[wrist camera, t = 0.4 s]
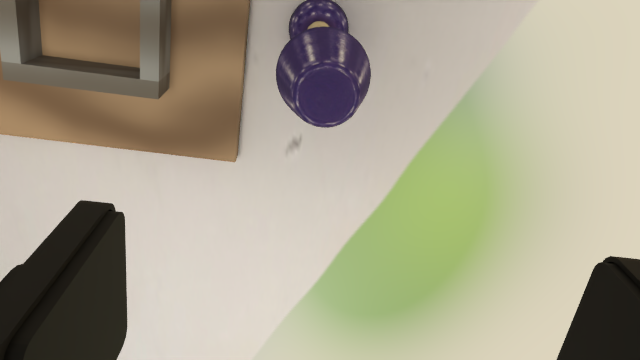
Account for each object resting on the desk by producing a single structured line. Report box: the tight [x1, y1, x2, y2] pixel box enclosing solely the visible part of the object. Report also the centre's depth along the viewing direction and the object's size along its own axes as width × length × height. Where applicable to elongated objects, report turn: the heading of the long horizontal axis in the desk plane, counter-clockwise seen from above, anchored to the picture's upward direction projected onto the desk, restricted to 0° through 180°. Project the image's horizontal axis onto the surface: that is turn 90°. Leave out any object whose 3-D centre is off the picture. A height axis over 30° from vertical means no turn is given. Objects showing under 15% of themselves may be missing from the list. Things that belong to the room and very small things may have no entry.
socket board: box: [0, 0, 250, 162], centre depth 34 cm, size 20×20×4 cm
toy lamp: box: [276, 0, 371, 127], centre depth 30 cm, size 5×5×17 cm
